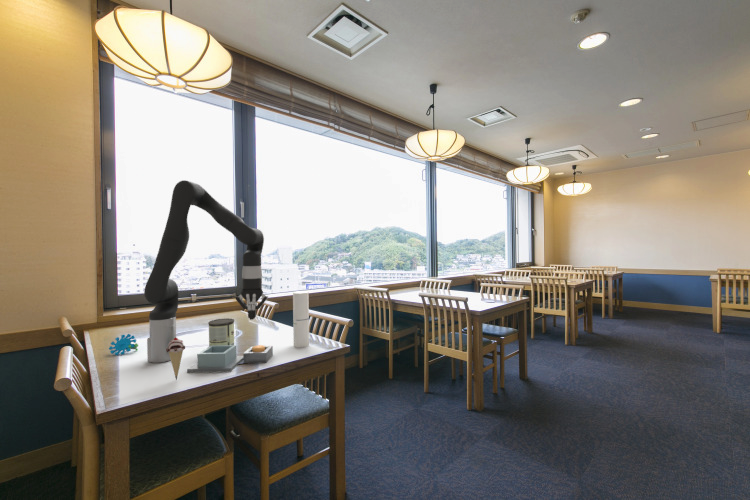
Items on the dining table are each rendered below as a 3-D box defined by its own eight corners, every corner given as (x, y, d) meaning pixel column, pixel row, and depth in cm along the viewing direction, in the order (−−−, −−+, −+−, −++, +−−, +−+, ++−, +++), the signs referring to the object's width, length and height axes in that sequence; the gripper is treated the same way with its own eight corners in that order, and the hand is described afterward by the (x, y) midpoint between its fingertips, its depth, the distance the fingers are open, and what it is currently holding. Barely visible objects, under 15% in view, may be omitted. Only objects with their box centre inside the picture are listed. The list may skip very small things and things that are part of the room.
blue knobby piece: (102, 352, 138) (117, 331, 145) (109, 358, 142) (123, 338, 150) (128, 355, 139) (142, 334, 146) (134, 361, 143) (147, 341, 150)
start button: (250, 356, 131) (250, 349, 131) (254, 352, 135) (254, 345, 135) (262, 356, 131) (262, 348, 131) (266, 352, 136) (266, 345, 135)
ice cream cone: (171, 385, 109) (170, 340, 108) (163, 381, 112) (162, 338, 111) (188, 379, 113) (188, 336, 113) (180, 375, 116) (179, 334, 116)
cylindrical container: (305, 347, 147) (304, 293, 147) (290, 347, 149) (290, 293, 148) (311, 343, 154) (310, 291, 154) (297, 342, 156) (297, 291, 155)
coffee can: (209, 351, 144) (208, 319, 144) (234, 347, 148) (233, 317, 148) (208, 358, 135) (207, 324, 135) (235, 354, 139) (234, 322, 139)
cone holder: (187, 372, 119) (187, 355, 119) (206, 359, 133) (205, 344, 133) (230, 371, 120) (230, 355, 120) (244, 358, 134) (244, 343, 134)
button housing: (243, 363, 128) (243, 353, 128) (251, 355, 137) (251, 346, 137) (266, 362, 129) (266, 352, 129) (272, 355, 138) (272, 345, 138)
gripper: (232, 278, 127) (232, 321, 127) (267, 277, 129) (267, 320, 129) (237, 276, 134) (237, 317, 134) (270, 275, 136) (270, 316, 136)
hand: (252, 319), depth 132 cm, fingers closed
